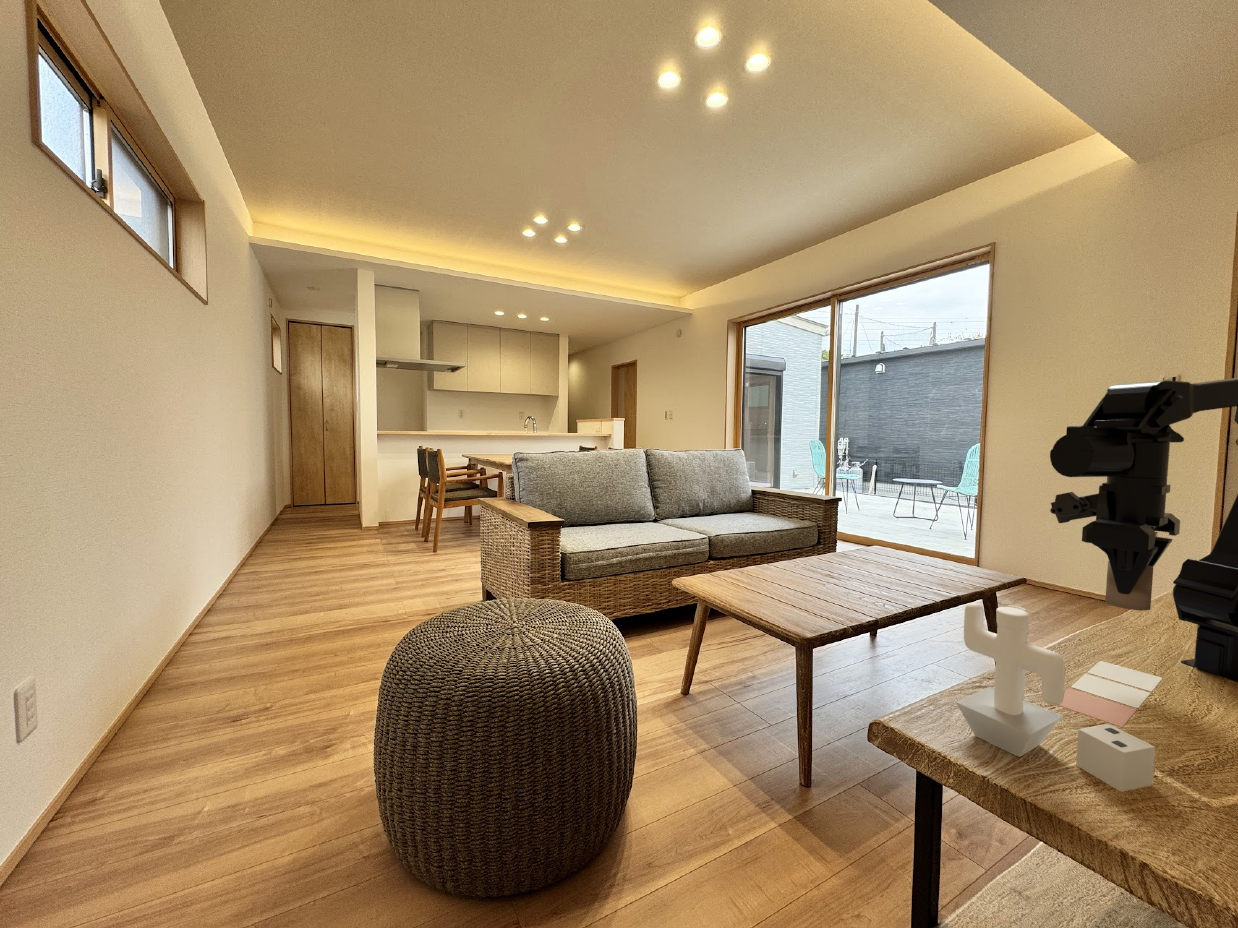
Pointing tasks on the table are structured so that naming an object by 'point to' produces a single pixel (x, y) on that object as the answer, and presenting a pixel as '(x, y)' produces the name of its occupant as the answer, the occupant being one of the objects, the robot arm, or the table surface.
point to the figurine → (1011, 682)
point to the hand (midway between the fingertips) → (1128, 590)
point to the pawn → (1138, 595)
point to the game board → (1110, 693)
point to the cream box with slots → (1115, 757)
